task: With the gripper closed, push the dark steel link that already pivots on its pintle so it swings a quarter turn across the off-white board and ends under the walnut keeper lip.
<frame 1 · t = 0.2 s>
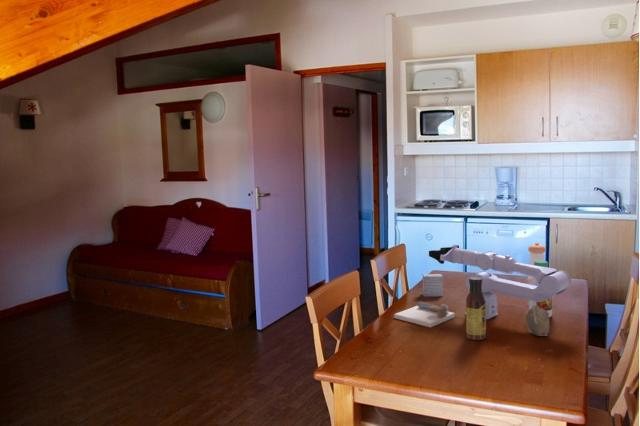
hand: (435, 251, 219), 21 cm above the table, tool horizontal, fingers open, 7 cm apart
sauce bottle: (475, 338, 184), on the table
milk bottle: (540, 315, 204), on the table
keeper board: (424, 317, 206), on the table
orange-capped bottle: (536, 287, 242), on the table
grey rock: (538, 333, 186), on the table
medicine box: (432, 295, 235), on the table
steel link: (433, 306, 209), point 3 cm above the table, hinge at 0.0°
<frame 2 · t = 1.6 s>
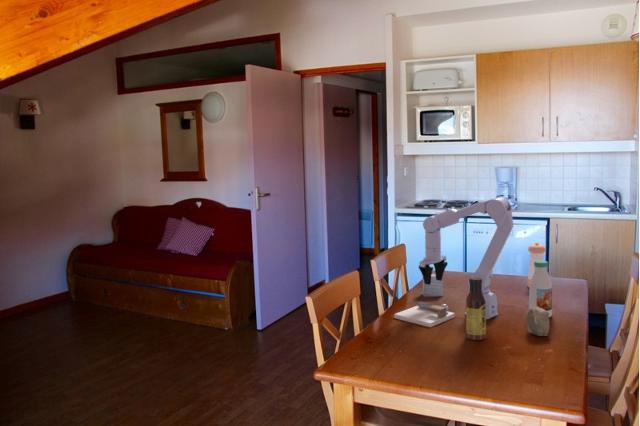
hand: (433, 282, 215), 10 cm above the table, tool pointing down, fingers open, 7 cm apart
nothing on the table moved.
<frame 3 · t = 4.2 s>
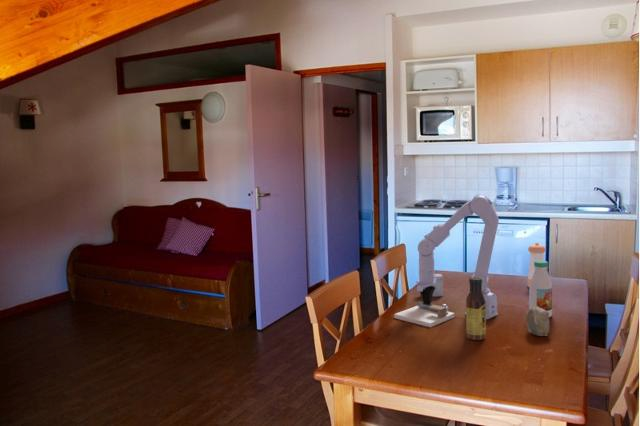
hand: (427, 305, 214), 2 cm above the table, tool pointing down, fingers closed, pressing on steel link
steel link: (433, 306, 209), point 3 cm above the table, hinge at 0.1°, touching gripper
everything else where it was.
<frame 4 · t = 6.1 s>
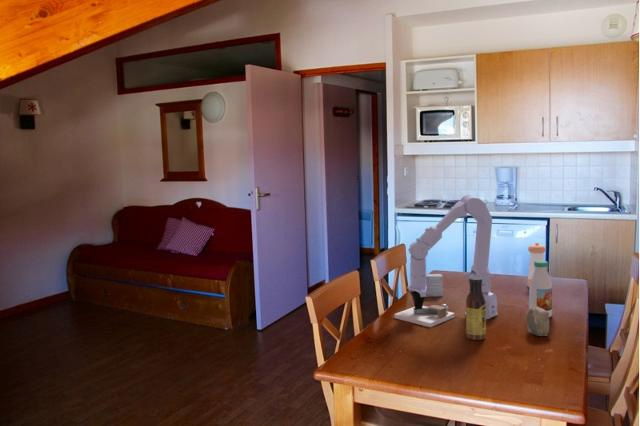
hand: (418, 310, 207), 2 cm above the table, tool pointing down, fingers closed, pressing on steel link
steel link: (431, 309, 206), point 3 cm above the table, hinge at 46.4°, touching gripper
everything else where it was.
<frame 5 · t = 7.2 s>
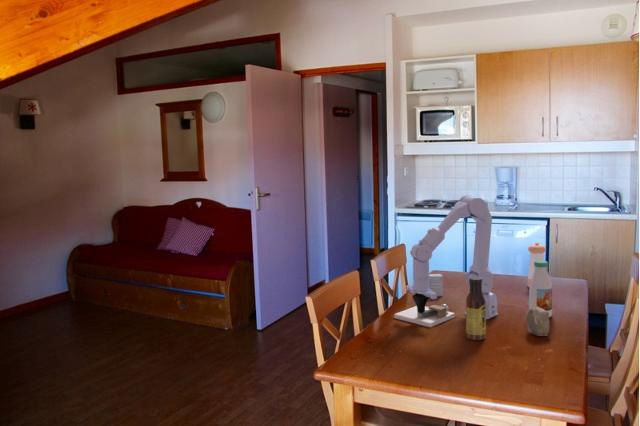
hand: (421, 313, 203), 2 cm above the table, tool pointing down, fingers closed, pressing on steel link
steel link: (433, 310, 204), point 3 cm above the table, hinge at 72.2°, touching gripper
everything else where it was.
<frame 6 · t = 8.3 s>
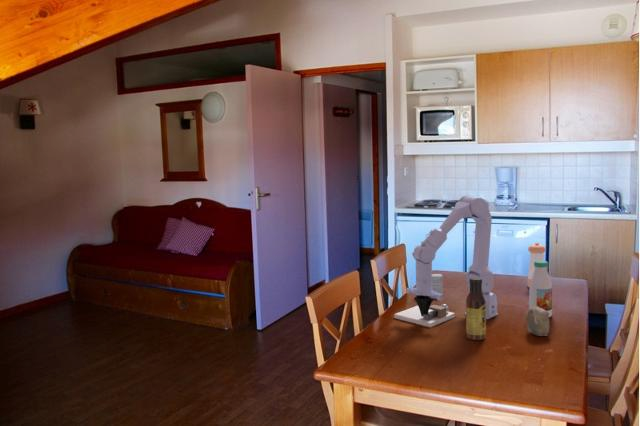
hand: (424, 315, 201), 2 cm above the table, tool pointing down, fingers closed
steel link: (436, 311, 202), point 3 cm above the table, hinge at 89.7°, touching gripper
everything else where it was.
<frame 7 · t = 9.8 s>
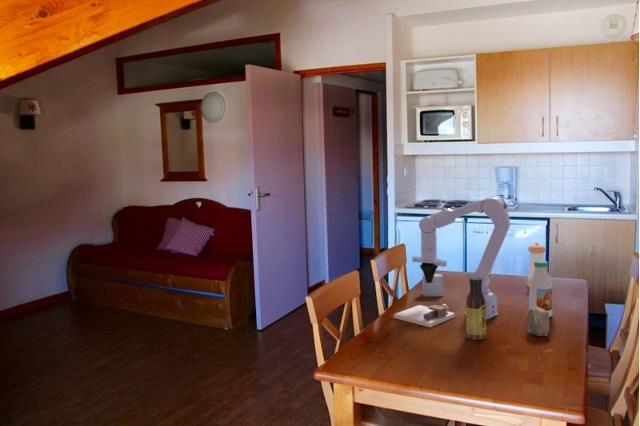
hand: (429, 282, 215), 10 cm above the table, tool pointing down, fingers closed
steel link: (436, 311, 202), point 3 cm above the table, hinge at 89.9°
everything else where it was.
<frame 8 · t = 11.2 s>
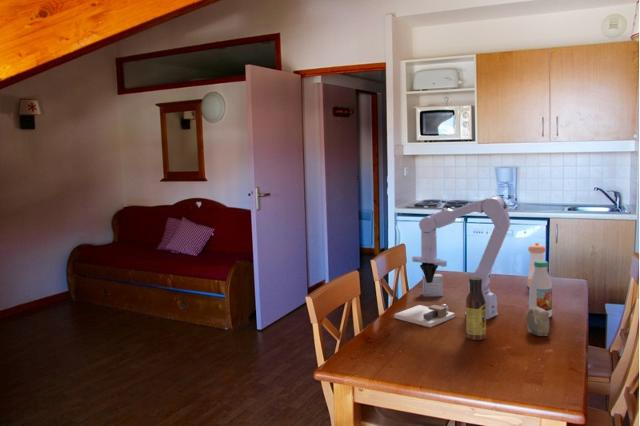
hand: (429, 282, 215), 10 cm above the table, tool pointing down, fingers closed
nothing on the table moved.
at the end: steel link at +90° (first picture: +0°) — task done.
